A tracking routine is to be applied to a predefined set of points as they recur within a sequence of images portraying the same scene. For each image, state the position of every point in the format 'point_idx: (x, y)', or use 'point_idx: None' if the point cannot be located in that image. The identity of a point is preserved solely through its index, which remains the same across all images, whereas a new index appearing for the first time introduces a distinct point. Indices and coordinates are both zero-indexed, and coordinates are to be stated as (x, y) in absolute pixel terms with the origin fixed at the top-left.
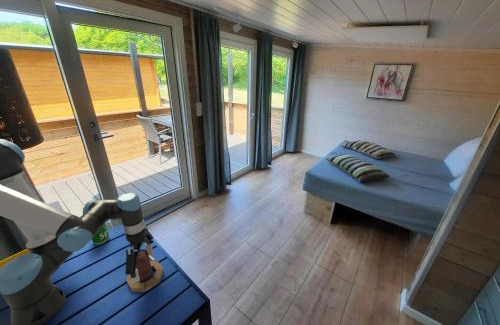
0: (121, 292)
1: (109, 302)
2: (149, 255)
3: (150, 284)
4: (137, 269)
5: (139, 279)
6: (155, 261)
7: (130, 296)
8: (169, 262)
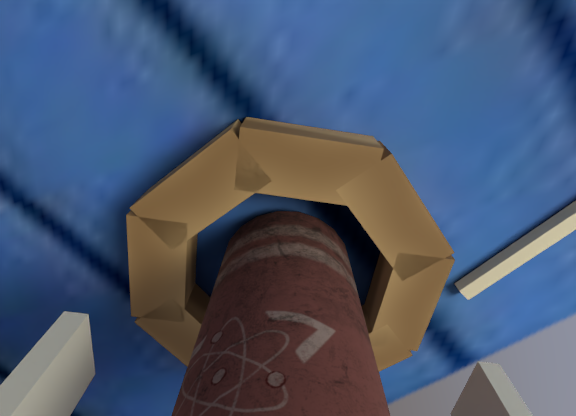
0: (130, 99)
1: (13, 14)
2: (466, 385)
3: (168, 349)
4: (181, 387)
5: (81, 386)
6: (420, 337)
7: (98, 196)
8: (400, 388)
